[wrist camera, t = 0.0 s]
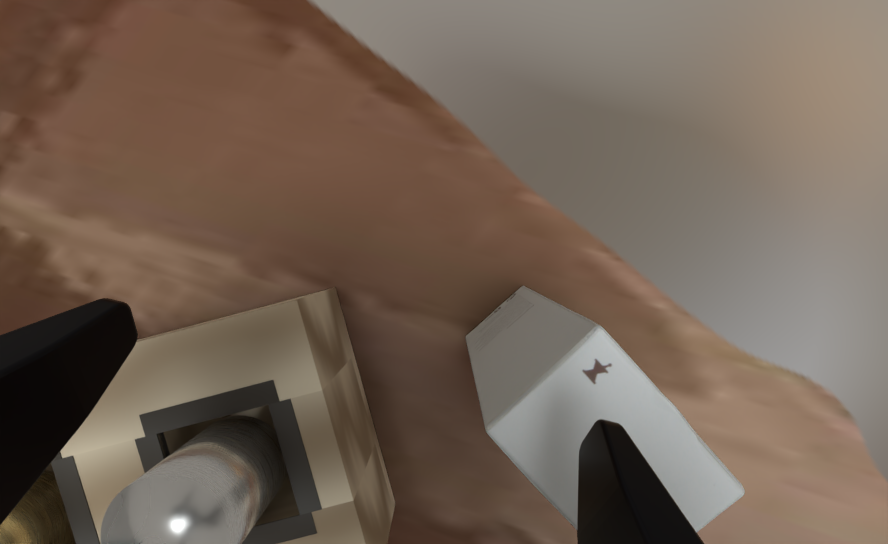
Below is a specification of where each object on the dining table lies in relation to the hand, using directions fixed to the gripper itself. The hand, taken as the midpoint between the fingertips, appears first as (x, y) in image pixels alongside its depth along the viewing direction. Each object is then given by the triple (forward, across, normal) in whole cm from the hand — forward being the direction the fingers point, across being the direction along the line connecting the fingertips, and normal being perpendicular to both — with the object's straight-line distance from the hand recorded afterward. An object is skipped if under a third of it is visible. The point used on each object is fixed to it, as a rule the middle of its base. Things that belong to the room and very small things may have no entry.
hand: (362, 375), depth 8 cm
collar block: (+7, +9, +17) cm, 20 cm away
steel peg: (+4, +5, +12) cm, 14 cm away
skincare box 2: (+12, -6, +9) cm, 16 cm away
